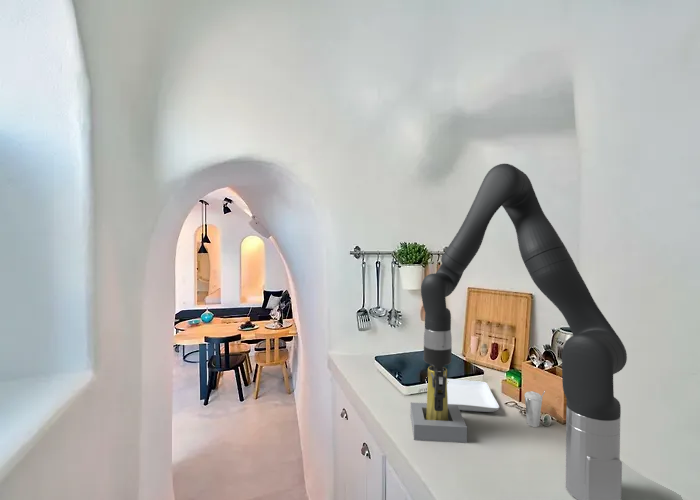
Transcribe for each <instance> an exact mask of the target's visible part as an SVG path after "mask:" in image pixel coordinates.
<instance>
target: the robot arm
mask: <svg viewBox="0 0 700 500" xmlns="http://www.w3.org/2000/svg"><path fill="white" fill-rule="evenodd" d="M476 193H477V194H476V195H475V198H474V200H473V202H472V204H471V206H470V208H469V211H468V213H467V214H466V216H465V219H464V220H463V221H462V224H461V226H460V227H459V230H458V231H457V233H456V234H455V236H454V238H452V240H451V242H450V244H448V246H447V248H446V249H445V251H444V253H442V256H441V258H440V260H441V264H440V266H439V268H438V269H437V271H436V272H435V273H429V274H427V275H426V276H425V277H424V278H423V279H422V282H421V285H420V286H421V287H420V295H421V302H422V307H423V310H424V332H423V361H424V362H425V363H426V364H428V365H429V367H430V366H432V367H430V370H431V371H434V375H433V374H432V373H431V376H432V387H433V388H434V409H435V411H443V398H445V385H446V377H445V376H446V372H445V376H443V371H445V370H444V367H445V366H448V365H450V364H452V357H453V356H452V352H453V351H452V345H453V344H452V343H453V341H452V340H453V339H452V337H453V336H452V330H451V329H452V328H451V327H452V319H451V318H452V317H451V316H452V314H451V311H450V309H449V308H447V301H446V298H447V297H448V296H451V294H452V293H453V292H455V290H456V288H457V286H458V284H459V282H460V281H461V280H462V279H461V278H462V276H463V274H464V271H466V269H467V268H468V266H470V263H471V262H472V261H473V259H474V257H476V255H477V253H478V251H479V250H480V248H481V245H482V244H483V241H484V238H485V233H486V231H487V228H488V227H489V224H490V222H491V220H492V218H493V217H494V215H495V214H496V213H497V212H498V210H499V209H500V208H501V207H502V208H503V209H504V211H505V212H506V214H507V216H508V217H509V219H510V220H511V223H512V224H513V226H514V228H515V233H516V237H517V243H518V249H519V253H520V256H521V259H522V261H523V264H524V265H525V268H526V271H527V272H528V274H529V276H530V278H531V279H532V281H533V283H534V284H535V285H536V287H537V289H539V290H540V292H541V293H543V295H544V296H545V297H546V298H547V299H548V300H549V301H550V302H551V303H552V304H553V305H554V306H555V308H557V309H558V310H559V312H560V313H561V315H562V316H563V317H564V319H565V321H566V323H567V325H568V327H569V329H570V331H571V334H572V336H570V337H569V338H568V339H567V340H565V342H564V344H563V347H562V351H561V374H562V375H561V378H562V390H563V394H564V396H565V399H566V412H565V413H566V414H565V415H566V416H565V417H566V422H565V423H566V424H565V427H566V428H565V488H566V491H568V493H569V494H570V496H572V497H573V498H575V499H576V500H622V482H623V481H622V477H623V474H622V473H623V471H622V470H623V461H622V460H621V459H620V458H621V451H620V450H621V412H622V411H621V410H622V409H621V408H622V407H621V403H620V401H619V399H617V397H615V396H614V393H615V392H614V375H615V374H618V373H619V372H620V371H622V370H623V369H624V368H625V365H626V364H627V361H628V356H627V355H628V354H627V350H626V348H625V347H626V346H625V345H624V343H623V341H622V340H621V338H620V337H619V334H617V332H616V331H615V330H614V328H613V326H612V325H611V324H610V323H609V321H608V320H607V319H606V317H605V315H604V314H603V312H602V311H601V309H600V308H599V306H598V304H597V303H596V302H595V300H594V298H593V296H592V294H591V292H590V291H589V288H588V286H587V284H586V282H585V281H584V279H583V277H582V276H581V273H580V272H579V269H578V268H577V266H576V263H575V262H574V260H573V258H572V257H571V254H570V253H569V250H568V248H567V246H566V245H565V244H564V241H562V239H561V237H560V236H559V234H558V233H557V231H556V229H555V227H554V226H553V225H552V223H551V221H549V219H548V217H547V216H546V214H545V212H544V211H543V208H542V207H541V204H540V202H539V200H538V197H537V194H536V192H535V189H534V187H533V184H532V182H531V179H530V178H529V176H528V175H527V174H526V173H525V172H523V170H521V169H519V168H518V167H516V166H515V165H512V164H509V163H499V164H497V165H495V166H492V168H491V169H489V171H488V172H487V173H486V174H485V176H484V178H483V181H482V182H481V184H480V186H479V188H478V191H477V192H476ZM434 380H435V381H436V382H435V384H434ZM438 390H441V393H439V392H438Z"/></svg>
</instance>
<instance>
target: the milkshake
mask: <svg viewBox="0 0 700 500" xmlns="http://www.w3.org/2000/svg"><path fill="white" fill-rule="evenodd" d="M545 392H546V390H544V391H543V392H542V394H540V393H539V392H536V391H532V390H531V391H526V392H525V393H524V402H525V405H524V406H525V417H526V418H525V419H526V424H527V425H528V426H529V427H532V428H538V427H540V422H541V409H542V403H543V396H544V395H545Z"/></svg>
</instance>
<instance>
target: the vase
mask: <svg viewBox="0 0 700 500" xmlns="http://www.w3.org/2000/svg"><path fill="white" fill-rule="evenodd" d="M427 367H428V368H427V377H428V385H427V384H426V390H427V391H426V392H427V393H426V403H427V411H426V420H439V421H448V396H447V379H448V369H447V368H446V367H445V366H443V367H444V370H445V371H443V376H445V372H446V376H445V377H446V385H445V398H443V411H435V409H434V388H433V387H432V376H431V373H432V374H433V375H434V371H431V370H430V367H432V366H430V365H429V366H427ZM435 382H436V381H435V380H434V384H435ZM438 392H439V393H441V390H438Z"/></svg>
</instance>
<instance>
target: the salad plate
mask: <svg viewBox="0 0 700 500" xmlns="http://www.w3.org/2000/svg"><path fill="white" fill-rule="evenodd" d="M447 380H449V382H448V384H447V396H448V404H455V405H457V406H458V408H459V410H460V411H467V412H479V413H480V412H481V413H482V412H483V413H492V412H496V411H498V410H499V409H500V405H499V403H498V401H497V399H496V398H495V396H494V394H493V393H492V390H491V388H490V386H489V383H487V382H485V381H479V380H468V379H455V378H447ZM425 383H426V386H427V385H428V383H427V381H426V380H425Z"/></svg>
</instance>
